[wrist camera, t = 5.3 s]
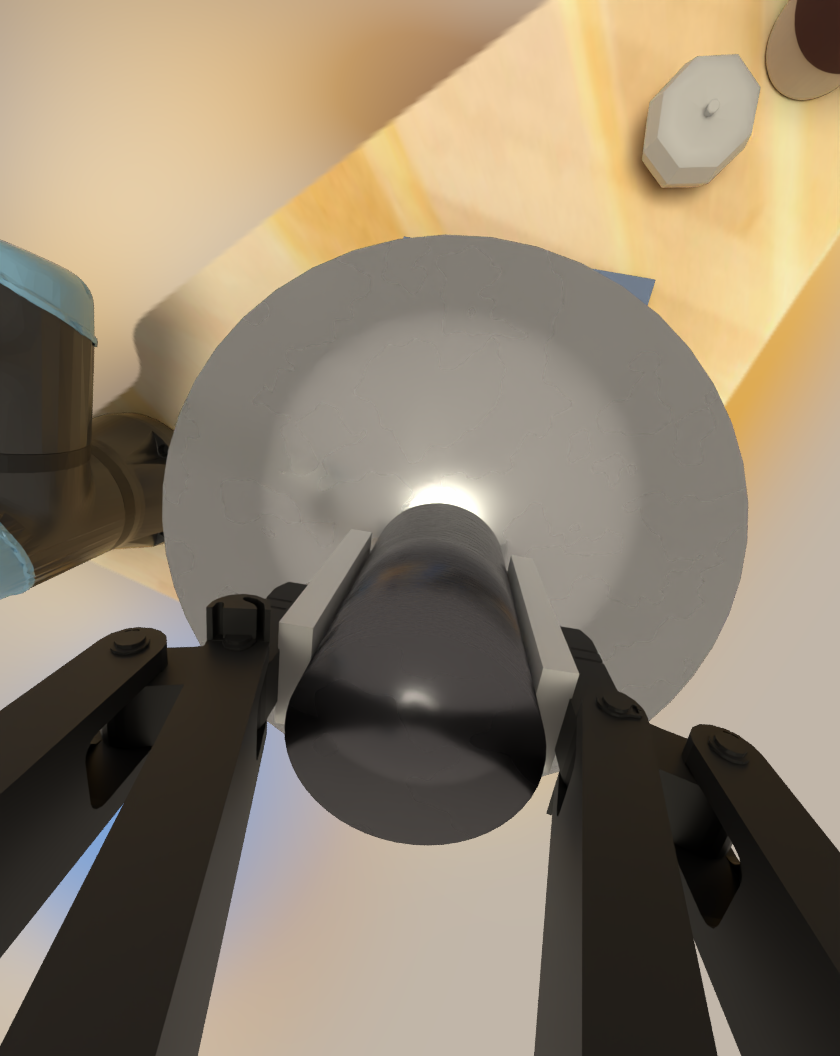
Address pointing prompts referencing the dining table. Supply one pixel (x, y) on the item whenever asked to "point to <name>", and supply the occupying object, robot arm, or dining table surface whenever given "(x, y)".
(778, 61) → the coffee cup
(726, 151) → the grey faceted round piece
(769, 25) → the dining table surface
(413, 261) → the cake dome
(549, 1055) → the robot arm
